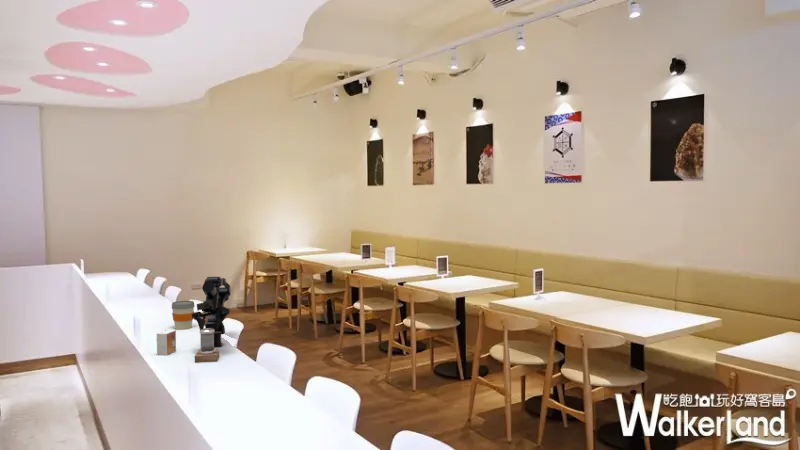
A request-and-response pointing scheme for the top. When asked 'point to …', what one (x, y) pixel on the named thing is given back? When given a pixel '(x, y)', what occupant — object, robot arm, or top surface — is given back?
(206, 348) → the cylinder
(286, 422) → the top surface
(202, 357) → the stand
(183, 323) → the reusable coffee cup
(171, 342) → the small box
